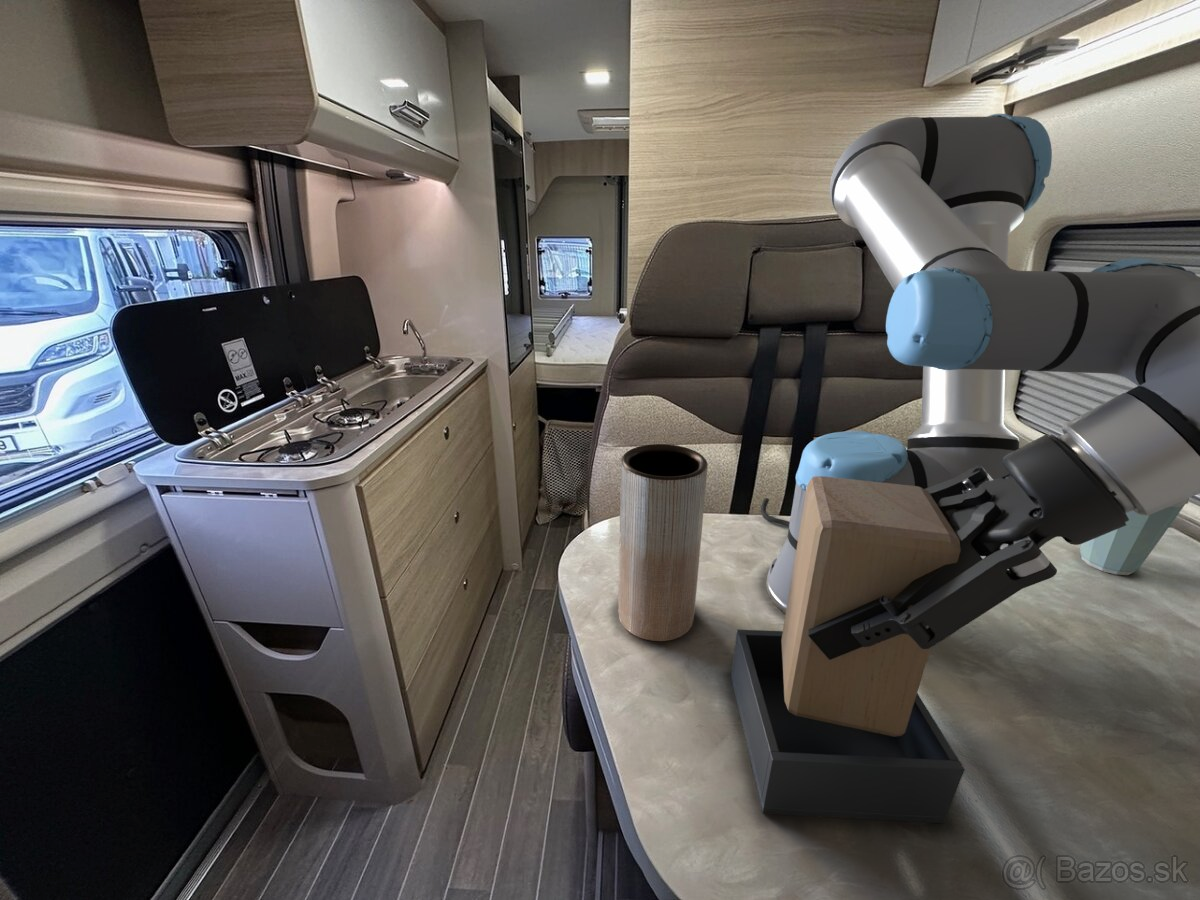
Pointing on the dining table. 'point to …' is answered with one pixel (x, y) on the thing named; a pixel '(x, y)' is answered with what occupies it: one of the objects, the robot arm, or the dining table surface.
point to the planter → (660, 539)
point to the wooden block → (859, 598)
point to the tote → (836, 752)
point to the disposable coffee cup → (1129, 541)
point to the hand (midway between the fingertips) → (818, 602)
